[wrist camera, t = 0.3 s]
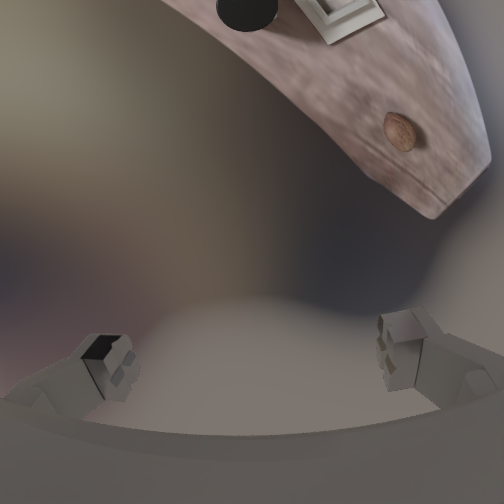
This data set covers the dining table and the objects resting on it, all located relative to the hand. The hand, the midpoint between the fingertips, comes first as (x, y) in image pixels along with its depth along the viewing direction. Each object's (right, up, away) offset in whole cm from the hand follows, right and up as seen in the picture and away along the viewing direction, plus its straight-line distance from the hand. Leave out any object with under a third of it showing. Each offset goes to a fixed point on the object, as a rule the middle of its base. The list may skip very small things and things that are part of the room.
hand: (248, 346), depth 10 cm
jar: (0, +44, +31) cm, 54 cm away
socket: (+13, +45, +28) cm, 55 cm away
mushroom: (+28, +29, +46) cm, 61 cm away
